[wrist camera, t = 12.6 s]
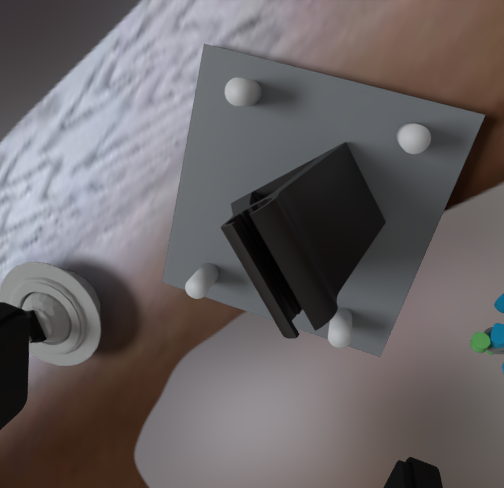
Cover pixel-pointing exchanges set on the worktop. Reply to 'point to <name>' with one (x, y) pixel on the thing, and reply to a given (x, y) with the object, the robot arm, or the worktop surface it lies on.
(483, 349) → the gear
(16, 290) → the grey spinning top
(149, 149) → the worktop surface
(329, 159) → the phone stand
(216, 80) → the base plate
